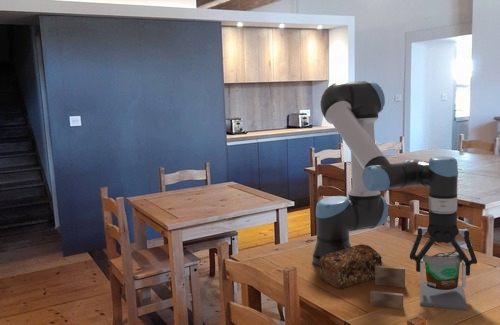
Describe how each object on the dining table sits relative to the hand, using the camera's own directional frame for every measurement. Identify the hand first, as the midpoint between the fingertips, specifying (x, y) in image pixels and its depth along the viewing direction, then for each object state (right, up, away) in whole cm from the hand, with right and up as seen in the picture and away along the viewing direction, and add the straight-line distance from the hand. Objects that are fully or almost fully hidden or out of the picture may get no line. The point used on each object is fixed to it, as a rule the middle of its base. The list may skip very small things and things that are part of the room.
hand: (442, 283), depth 136 cm
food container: (+1, -1, 0) cm, 2 cm away
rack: (-15, -4, +3) cm, 16 cm away
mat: (0, -4, +1) cm, 4 cm away
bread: (-23, -3, +17) cm, 29 cm away
